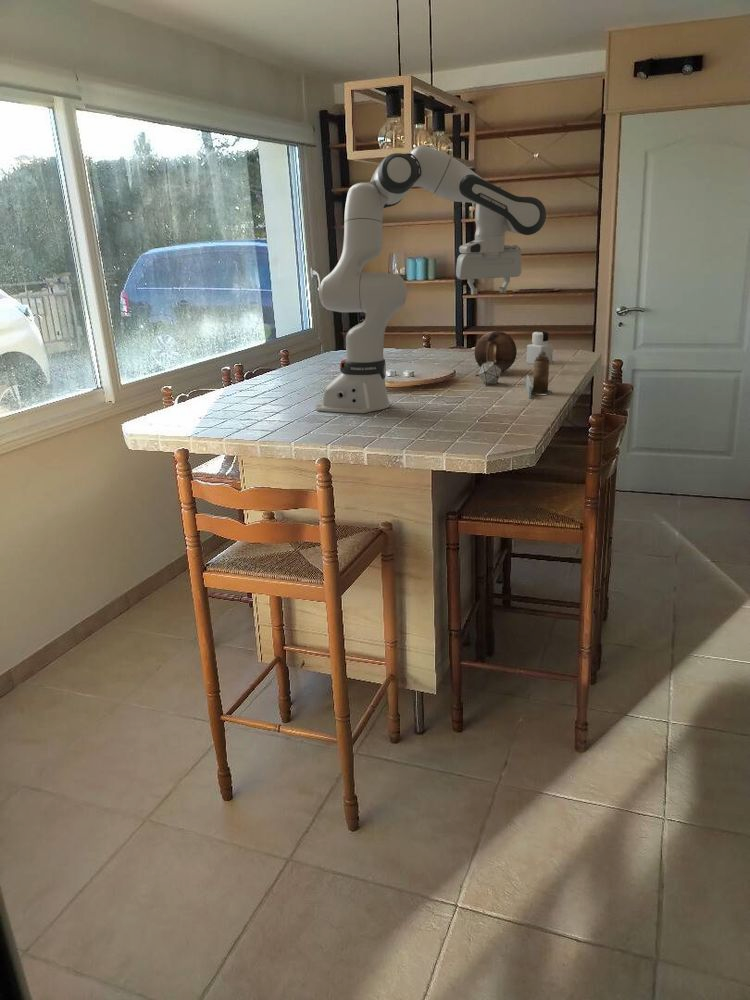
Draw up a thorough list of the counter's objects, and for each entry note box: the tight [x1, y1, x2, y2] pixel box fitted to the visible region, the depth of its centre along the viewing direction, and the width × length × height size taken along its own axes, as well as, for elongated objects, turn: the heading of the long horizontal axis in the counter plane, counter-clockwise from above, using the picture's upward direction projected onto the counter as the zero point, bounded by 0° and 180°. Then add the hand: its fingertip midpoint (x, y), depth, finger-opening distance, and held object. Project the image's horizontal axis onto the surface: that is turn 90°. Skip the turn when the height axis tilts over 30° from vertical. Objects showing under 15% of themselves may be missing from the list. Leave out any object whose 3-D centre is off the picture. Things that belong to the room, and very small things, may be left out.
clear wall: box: [525, 374, 532, 399], centre depth 242 cm, size 1×18×4 cm, turn 172°
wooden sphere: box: [474, 330, 517, 373], centre depth 274 cm, size 15×15×15 cm
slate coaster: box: [531, 389, 552, 395], centre depth 242 cm, size 7×7×1 cm
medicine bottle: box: [525, 330, 554, 365], centre depth 291 cm, size 7×7×12 cm
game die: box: [475, 360, 505, 387], centre depth 256 cm, size 9×8×10 cm
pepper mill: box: [532, 351, 550, 393], centre depth 240 cm, size 5×5×13 cm
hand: (488, 293), depth 232 cm, fingers open, 8 cm apart
